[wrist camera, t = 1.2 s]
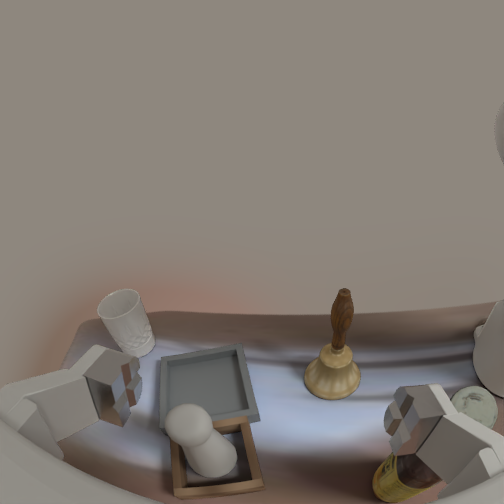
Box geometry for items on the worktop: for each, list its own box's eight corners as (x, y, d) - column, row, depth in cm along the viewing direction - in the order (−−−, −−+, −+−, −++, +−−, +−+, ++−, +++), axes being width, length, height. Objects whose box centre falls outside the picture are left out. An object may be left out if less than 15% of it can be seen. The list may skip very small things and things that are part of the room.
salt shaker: (185, 457, 28) (143, 410, 21) (221, 435, 31) (194, 382, 24) (211, 490, 24) (172, 458, 17) (249, 465, 26) (230, 424, 20)
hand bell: (367, 364, 37) (386, 277, 30) (347, 408, 32) (368, 325, 24) (318, 349, 42) (322, 263, 34) (293, 388, 36) (290, 303, 29)
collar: (249, 423, 32) (246, 415, 31) (265, 489, 23) (263, 485, 22) (175, 434, 31) (169, 426, 30) (181, 499, 22) (174, 495, 21)
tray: (243, 352, 43) (241, 342, 42) (260, 421, 32) (258, 413, 31) (165, 366, 42) (161, 357, 41) (165, 435, 31) (159, 428, 30)
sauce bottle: (396, 451, 24) (467, 351, 14) (427, 479, 19) (525, 393, 10) (356, 484, 22) (416, 410, 12) (387, 516, 17) (482, 467, 7)
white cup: (120, 335, 49) (100, 294, 44) (157, 326, 51) (140, 284, 46) (119, 364, 42) (94, 323, 38) (160, 355, 44) (139, 312, 39)
